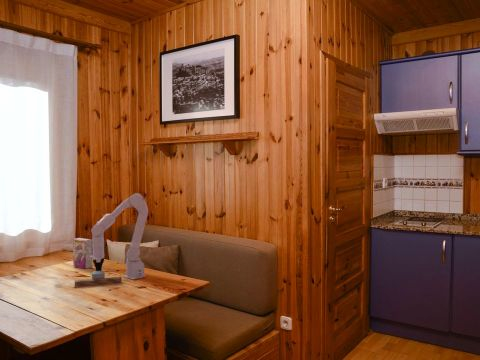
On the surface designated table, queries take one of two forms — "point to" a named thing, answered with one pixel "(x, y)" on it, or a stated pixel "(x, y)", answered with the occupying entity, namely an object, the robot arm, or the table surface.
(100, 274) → the slate block
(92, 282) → the walnut batten
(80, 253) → the candy bar box
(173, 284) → the table surface
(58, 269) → the table surface
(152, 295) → the table surface
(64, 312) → the table surface
